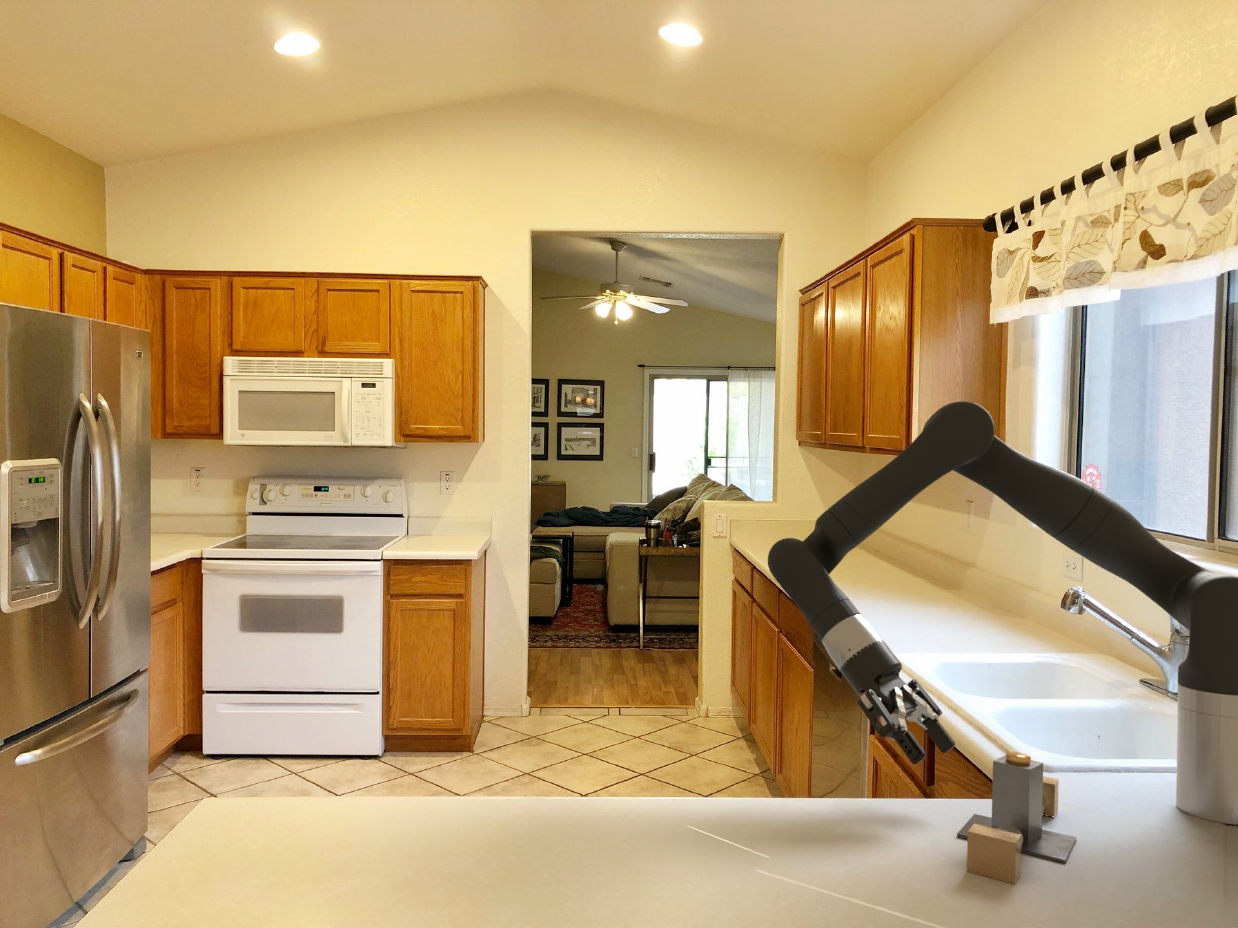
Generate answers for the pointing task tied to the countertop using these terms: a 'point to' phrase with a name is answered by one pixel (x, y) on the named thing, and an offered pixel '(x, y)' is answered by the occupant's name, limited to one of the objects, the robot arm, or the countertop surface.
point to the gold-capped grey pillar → (1018, 794)
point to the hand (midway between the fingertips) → (935, 754)
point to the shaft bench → (1013, 842)
